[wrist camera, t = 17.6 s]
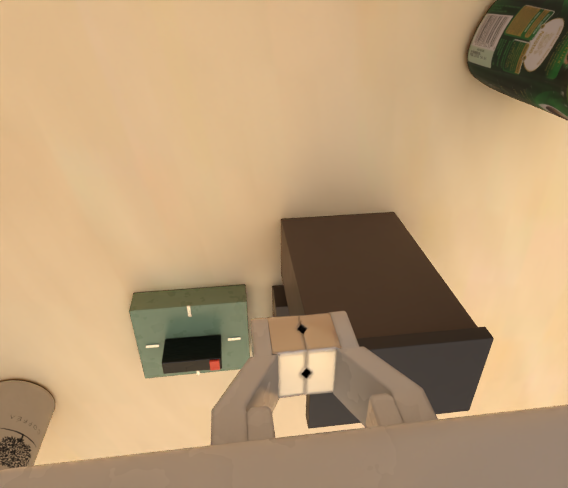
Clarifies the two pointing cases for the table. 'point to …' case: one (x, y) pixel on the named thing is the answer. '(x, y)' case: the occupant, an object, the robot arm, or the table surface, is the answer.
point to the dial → (192, 354)
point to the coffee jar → (524, 52)
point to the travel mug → (22, 422)
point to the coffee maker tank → (383, 306)
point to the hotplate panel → (191, 323)
